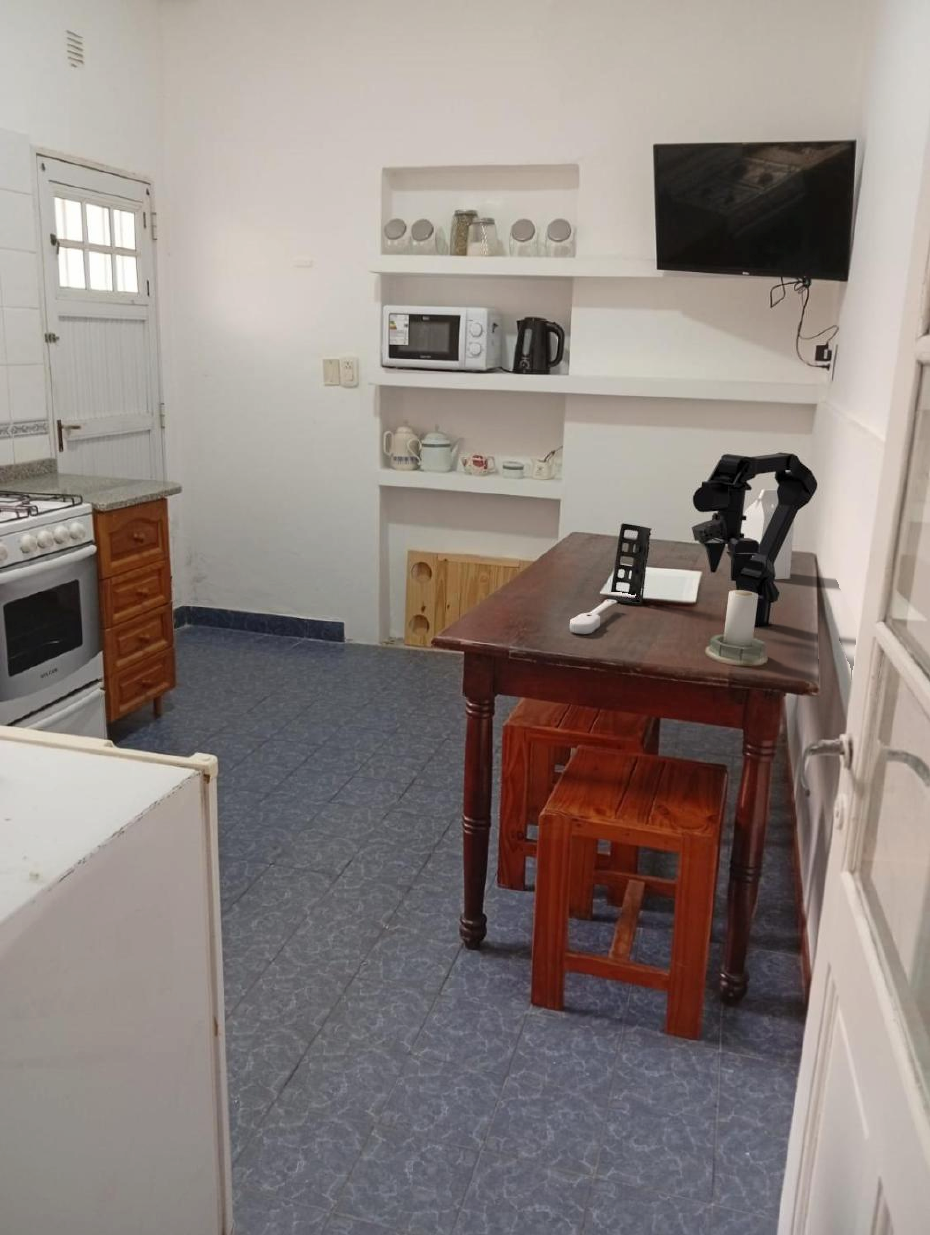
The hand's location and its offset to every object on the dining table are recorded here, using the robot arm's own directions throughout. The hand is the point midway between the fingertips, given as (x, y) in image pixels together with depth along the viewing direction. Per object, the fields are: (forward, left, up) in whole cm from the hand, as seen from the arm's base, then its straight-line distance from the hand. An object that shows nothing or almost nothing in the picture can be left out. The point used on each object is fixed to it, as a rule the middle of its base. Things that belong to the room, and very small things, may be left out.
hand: (723, 576), depth 232 cm
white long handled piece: (+27, -10, -13) cm, 32 cm away
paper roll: (+7, +21, -12) cm, 25 cm away
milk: (-48, -58, -13) cm, 76 cm away
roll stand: (+7, +21, -13) cm, 26 cm away
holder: (+9, -30, -13) cm, 34 cm away
